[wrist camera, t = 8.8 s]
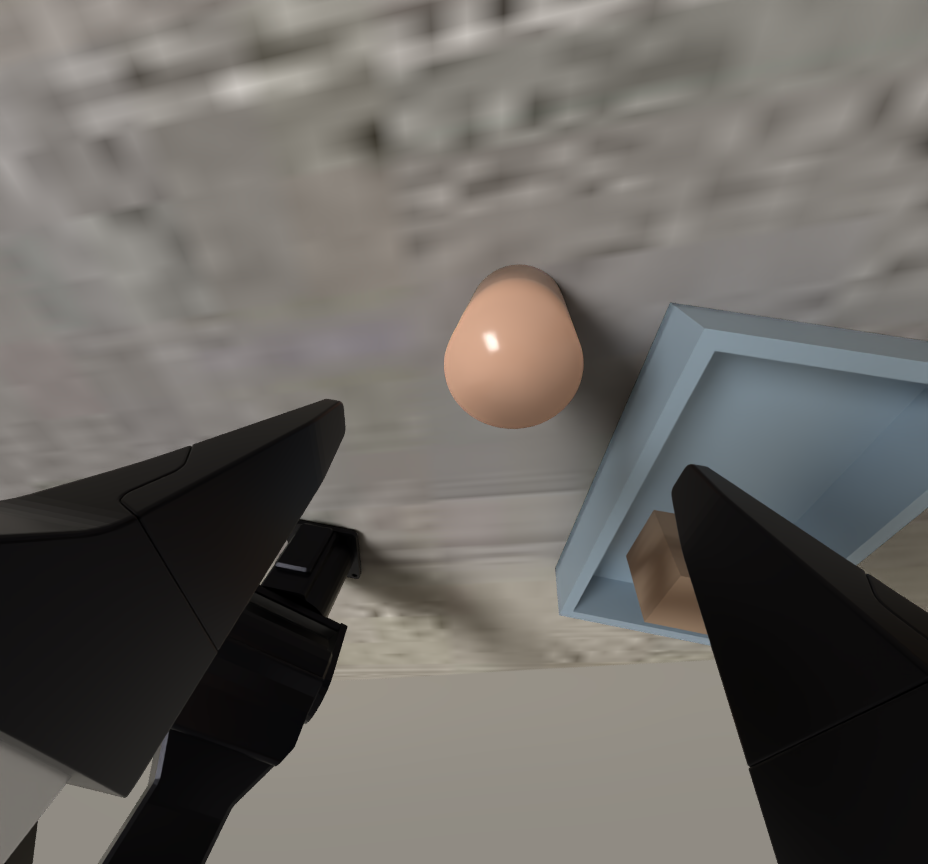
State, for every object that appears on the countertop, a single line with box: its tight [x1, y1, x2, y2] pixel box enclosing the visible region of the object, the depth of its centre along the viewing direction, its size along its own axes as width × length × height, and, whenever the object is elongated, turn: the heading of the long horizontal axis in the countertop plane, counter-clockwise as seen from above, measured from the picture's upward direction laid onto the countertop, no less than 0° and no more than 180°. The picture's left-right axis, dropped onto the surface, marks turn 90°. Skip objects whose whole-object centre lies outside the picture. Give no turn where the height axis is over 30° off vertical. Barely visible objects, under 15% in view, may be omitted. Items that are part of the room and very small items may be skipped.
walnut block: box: [626, 510, 707, 634], centre depth 23 cm, size 5×5×5 cm
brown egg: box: [444, 265, 584, 429], centre depth 16 cm, size 5×5×7 cm
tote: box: [555, 303, 928, 646], centre depth 21 cm, size 22×14×4 cm, turn 174°
